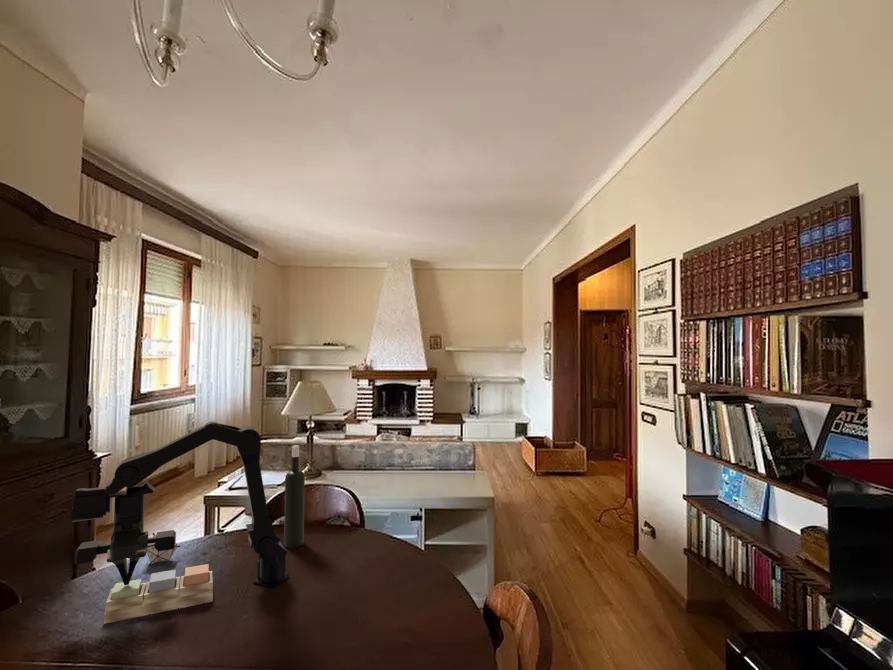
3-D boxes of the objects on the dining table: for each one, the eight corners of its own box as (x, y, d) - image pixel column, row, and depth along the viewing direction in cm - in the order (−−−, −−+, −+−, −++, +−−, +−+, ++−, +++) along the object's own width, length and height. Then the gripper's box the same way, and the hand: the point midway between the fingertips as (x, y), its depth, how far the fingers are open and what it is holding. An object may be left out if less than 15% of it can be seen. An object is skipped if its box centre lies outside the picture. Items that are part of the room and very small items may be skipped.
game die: (162, 578, 131) (157, 557, 126) (138, 564, 133) (132, 543, 128) (188, 551, 139) (185, 531, 133) (165, 538, 140) (160, 518, 135)
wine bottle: (284, 541, 148) (286, 444, 150) (304, 540, 150) (305, 443, 151) (283, 548, 143) (285, 447, 144) (303, 547, 144) (304, 446, 145)
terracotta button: (208, 576, 118) (208, 563, 118) (208, 584, 113) (208, 572, 113) (185, 580, 115) (185, 567, 115) (184, 589, 111) (184, 576, 111)
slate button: (175, 582, 114) (175, 569, 115) (174, 591, 110) (174, 578, 110) (151, 586, 112) (151, 573, 112) (148, 596, 108) (149, 582, 108)
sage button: (140, 592, 111) (141, 578, 111) (138, 601, 107) (138, 588, 107) (115, 596, 109) (115, 583, 109) (111, 607, 105) (111, 593, 105)
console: (212, 585, 120) (212, 568, 120) (212, 601, 112) (213, 584, 112) (111, 604, 110) (111, 586, 110) (103, 623, 102) (104, 604, 102)
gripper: (69, 532, 97) (66, 611, 97) (174, 519, 106) (172, 591, 105) (81, 516, 107) (79, 587, 107) (176, 505, 116) (174, 570, 115)
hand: (126, 584), depth 108 cm, fingers closed
